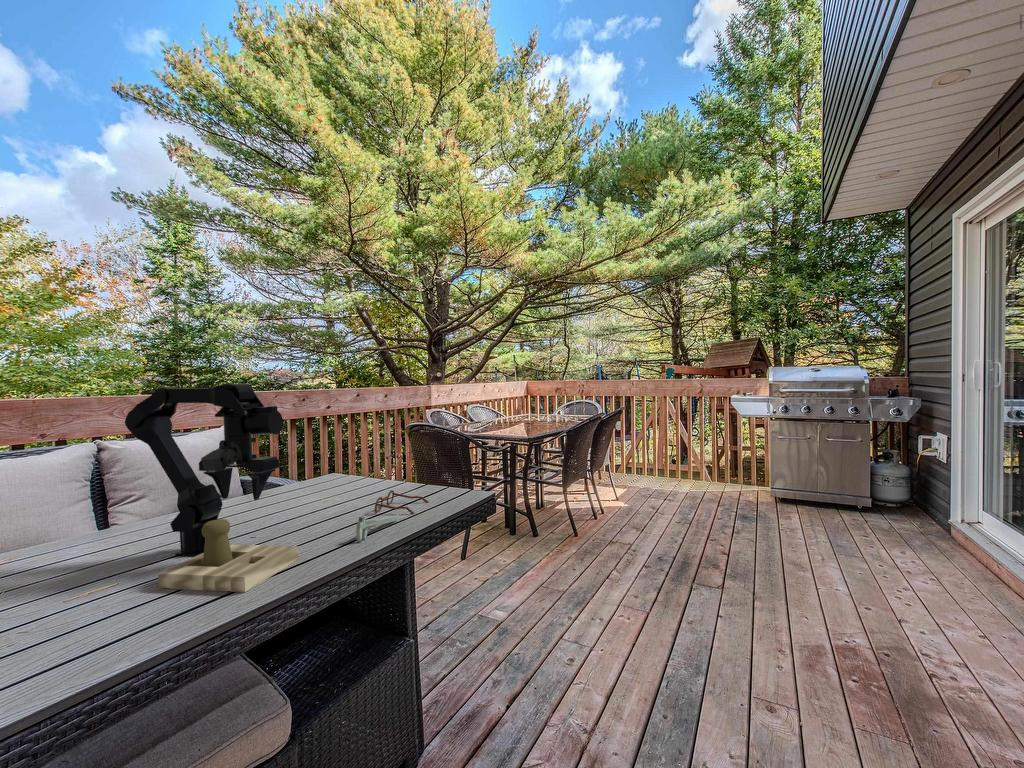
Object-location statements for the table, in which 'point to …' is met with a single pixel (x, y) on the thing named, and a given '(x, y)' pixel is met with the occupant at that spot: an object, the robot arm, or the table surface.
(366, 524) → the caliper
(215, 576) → the block
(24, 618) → the table surface
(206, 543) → the olive knobbed peg
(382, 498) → the glasses
